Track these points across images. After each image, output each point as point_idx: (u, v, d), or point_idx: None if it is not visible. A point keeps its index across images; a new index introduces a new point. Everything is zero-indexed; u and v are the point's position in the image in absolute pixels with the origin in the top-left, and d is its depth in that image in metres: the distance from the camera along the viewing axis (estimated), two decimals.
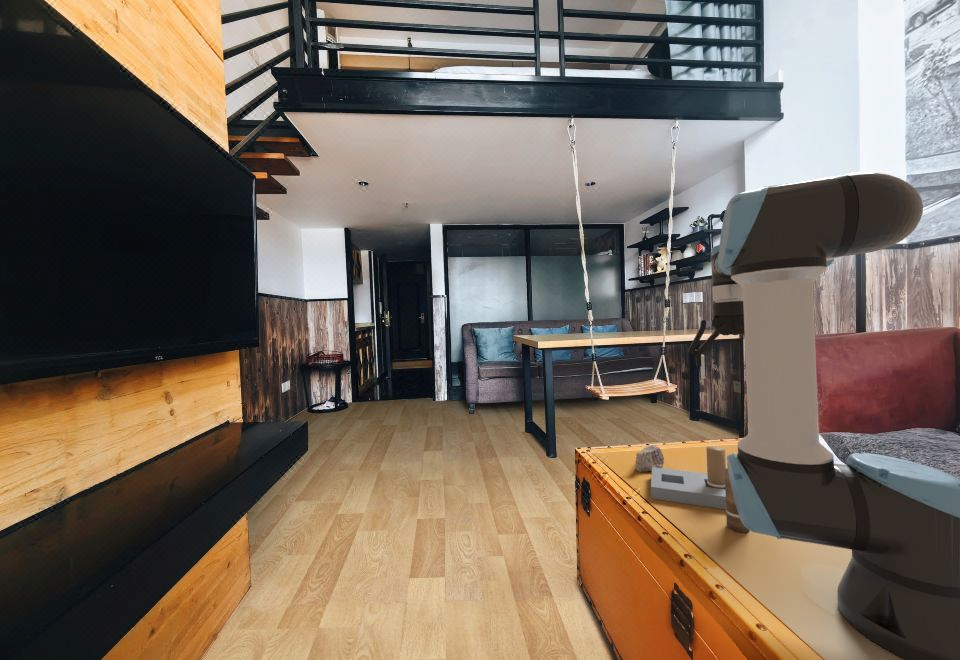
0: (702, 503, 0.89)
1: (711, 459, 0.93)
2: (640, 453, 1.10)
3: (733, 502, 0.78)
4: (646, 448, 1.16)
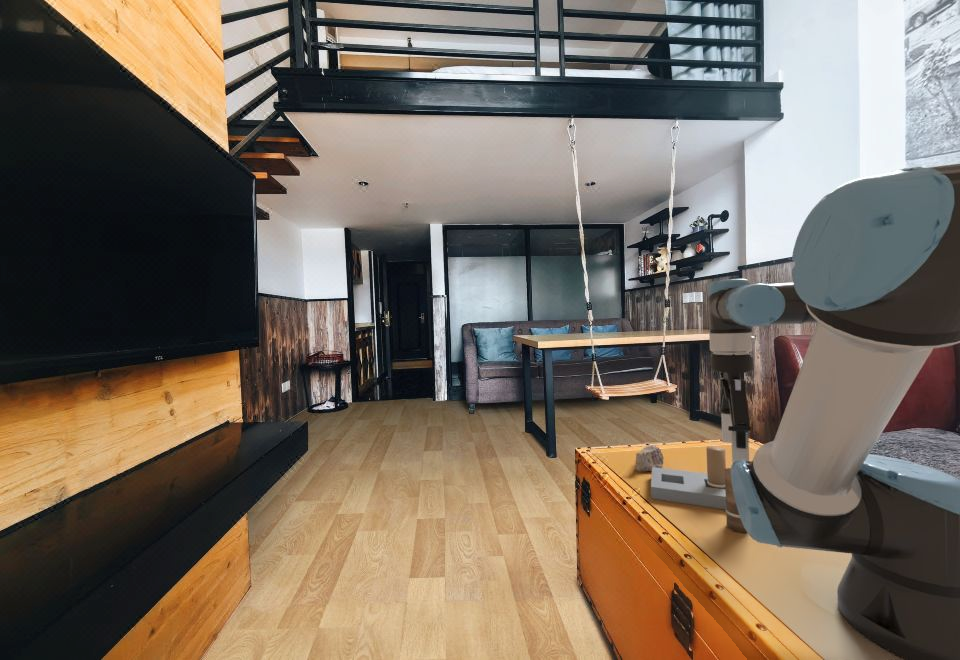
0: (702, 503, 0.89)
1: (711, 459, 0.93)
2: (640, 453, 1.10)
3: (733, 502, 0.78)
4: (646, 448, 1.16)
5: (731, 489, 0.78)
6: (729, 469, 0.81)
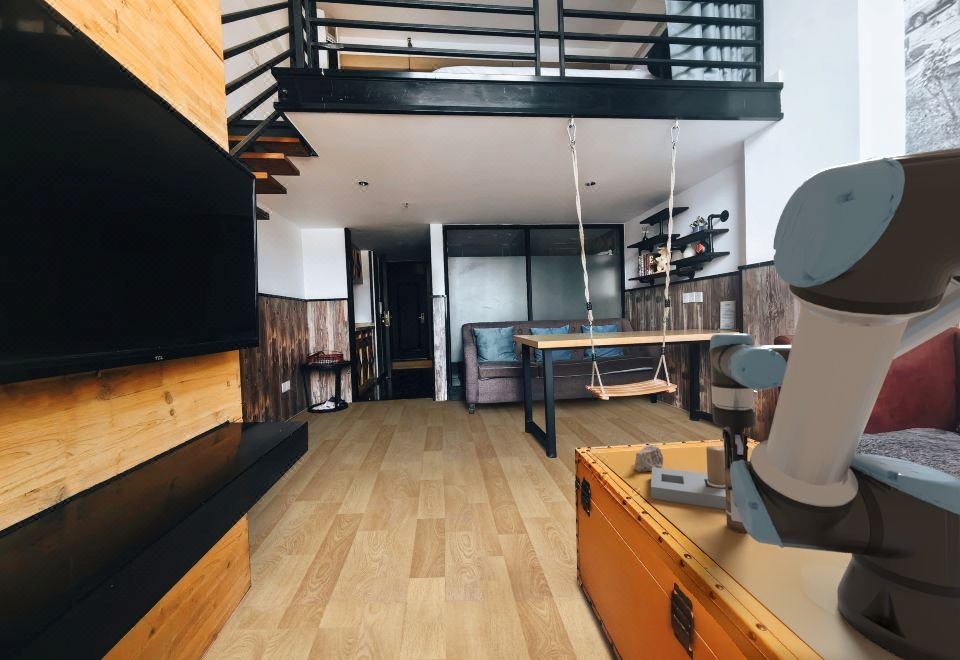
0: (702, 503, 0.89)
1: (711, 459, 0.93)
2: (640, 453, 1.10)
3: None
4: (645, 448, 1.16)
5: None
6: (729, 469, 0.81)
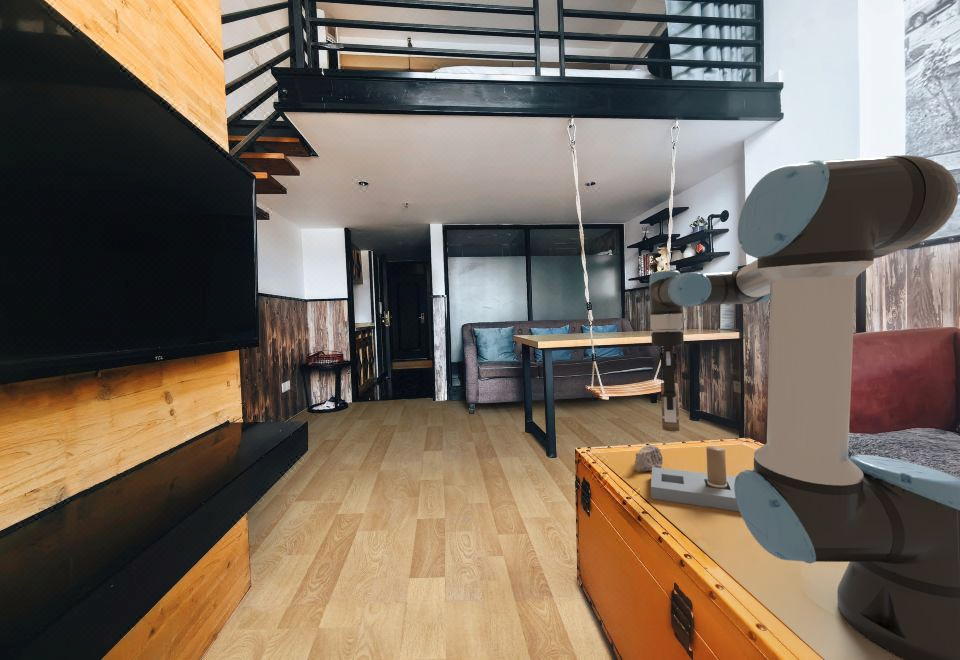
0: (702, 503, 0.89)
1: (711, 459, 0.93)
2: (639, 453, 1.10)
3: None
4: (645, 448, 1.16)
5: None
6: None
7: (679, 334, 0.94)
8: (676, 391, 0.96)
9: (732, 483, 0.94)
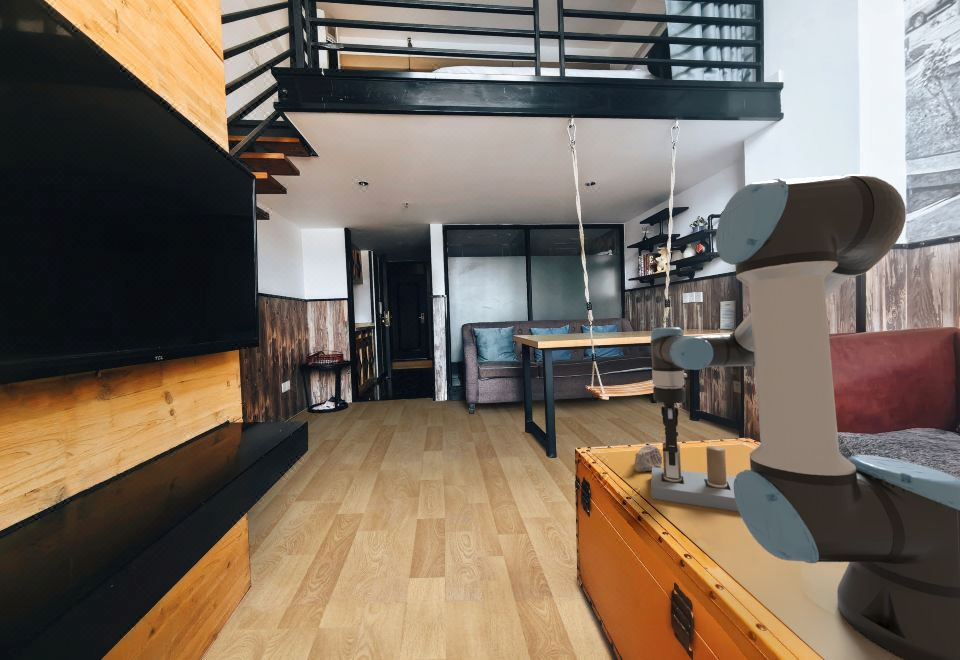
0: (702, 503, 0.89)
1: (711, 459, 0.93)
2: (639, 453, 1.10)
3: None
4: (644, 448, 1.16)
5: None
6: None
7: (681, 391, 0.95)
8: (678, 453, 0.96)
9: (732, 483, 0.94)
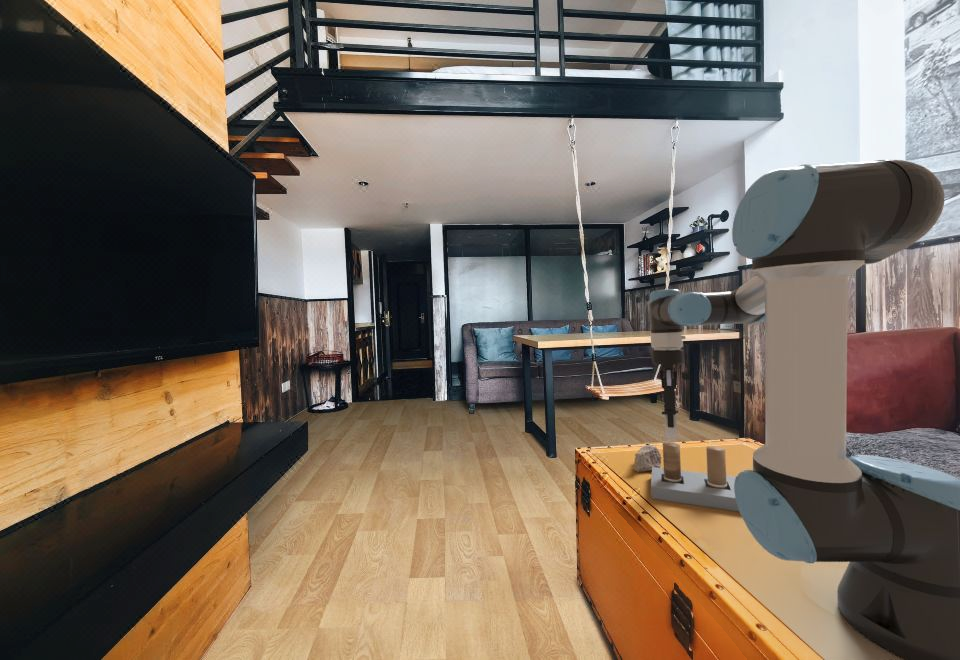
0: (702, 503, 0.89)
1: (711, 459, 0.93)
2: (639, 453, 1.10)
3: (668, 469, 0.97)
4: (643, 448, 1.16)
5: (667, 459, 0.97)
6: (666, 443, 0.99)
7: (679, 352, 0.95)
8: (678, 453, 0.96)
9: (732, 483, 0.94)
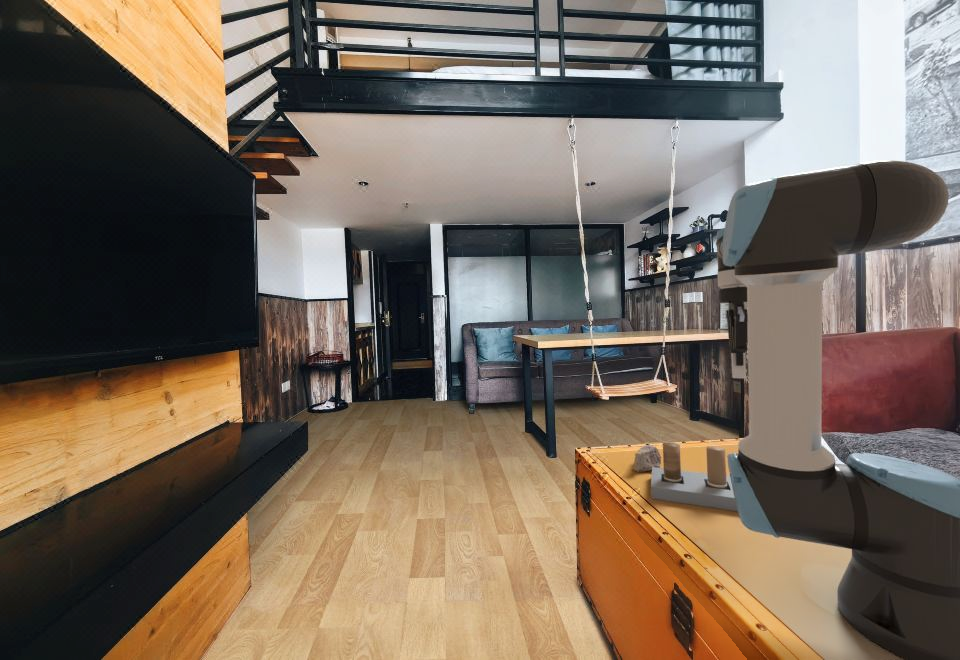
0: (702, 503, 0.89)
1: (711, 459, 0.93)
2: (639, 453, 1.10)
3: (668, 469, 0.97)
4: (643, 448, 1.16)
5: (667, 459, 0.97)
6: (666, 443, 0.99)
7: None
8: (678, 453, 0.96)
9: None
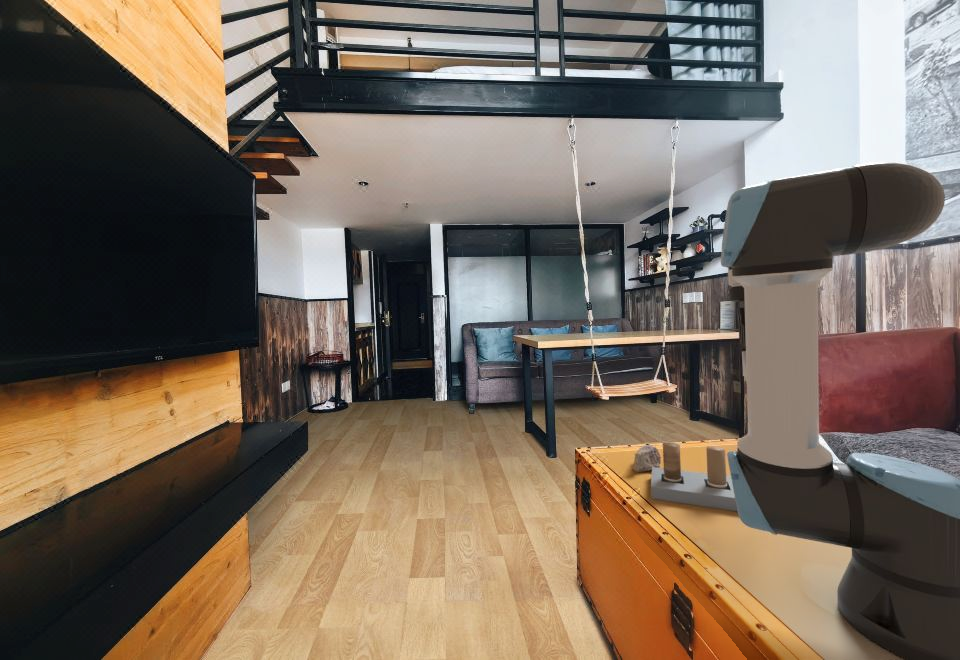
0: (702, 503, 0.89)
1: (711, 459, 0.93)
2: (639, 453, 1.10)
3: (668, 469, 0.97)
4: (642, 448, 1.16)
5: (667, 459, 0.97)
6: (666, 443, 0.99)
7: None
8: (678, 453, 0.96)
9: None
